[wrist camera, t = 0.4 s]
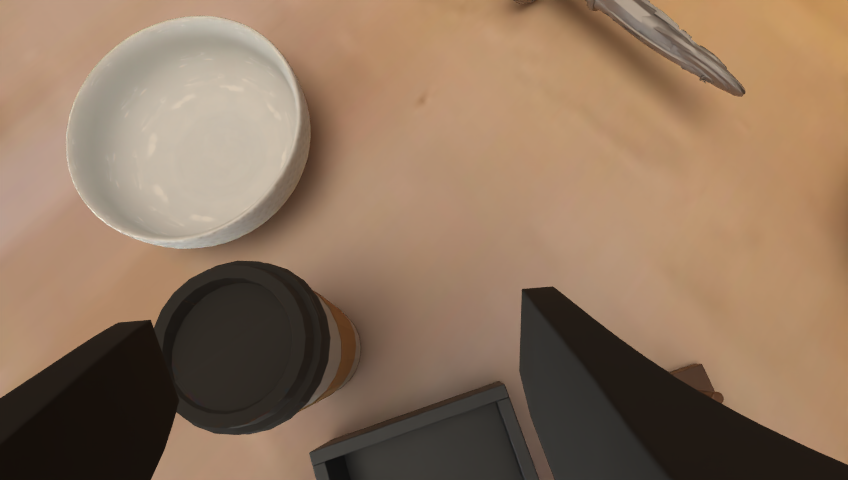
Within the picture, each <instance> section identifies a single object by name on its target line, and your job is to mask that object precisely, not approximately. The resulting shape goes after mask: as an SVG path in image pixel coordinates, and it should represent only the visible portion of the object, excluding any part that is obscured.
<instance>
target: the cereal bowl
mask: <svg viewBox="0 0 848 480" xmlns="http://www.w3.org/2000/svg"><path fill="white" fill-rule="evenodd" d="M310 132H311V125H310V116H309V111H308V106H307V102H306V100H305V95H304V93H303V91H302V88H301V85H300V84H299V82H298V79H297V77H296V75H295V74H294V72H293V69H292V68H291V66H290V65H289V63H288V61H287V60H286V59H285V57H284V56H283V55H282V54H281V53H280V51H279V50H278V49H277V48H276V47H275V46H274V45H273V44H272V43H271V42H270V41H269V40H268V39H267V38H265V37H264V36H263V35H261V34H260V33H259V32H257V31H255V30H254V29H252V28H250V27H248V26H246V25H244V24H242V23H239V22H236V21H233V20H230V19H227V18H221V17H214V16H188V17H180V18H175V19H170V20H167V21H163V22H160V23H157V24H154V25H152V26H149V27H147V28H144V29H142V30H140V31H138V32H136V33H135V34H133V35H131V36H130V37H128V38H126V39H125V40H123V41H122V42H121V43H119V44H118V45H117V46H115V47H114V48H113V49H112V50H111V51H110V52H108V53H107V54H106V55H105V56H104V57H103V58H102V59H101V60H100V61H99V62H98V64H97V65H96V66H95V67H94V68H93V70H92V71H91V72H90V74H89V75H88V77H87V78H86V80H85V81H84V83H83V84H82V86H81V88H80V90H79V92H78V94H77V96H76V98H75V101H74V103H73V106H72V109H71V112H70V115H69V120H68V125H67V132H66V157H67V163H68V168H69V172H70V175H71V178H72V181H73V183H74V185H75V188H76V190H77V191H78V193H79V195H80V196H81V198H82V199H83V201H84V202H85V204H86V205H87V206H88V208H89V209H90V210H91V211H92V212H93V213H94V214H95V215H96V216H97V217H98V218H100V219H101V220H102V221H103V222H105V223H106V224H107V225H109V226H110V227H112V228H114V229H115V230H117V231H119V232H121V233H122V234H124V235H127V236H130V237H132V238H134V239H137V240H141V241H143V242H147V243H151V244H153V245H159V246H164V247H173V248H176V249H177V248H179V249H183V248H186V249H193V248H203V247H212V246H216V245H219V244H225V243H227V242H230V241H232V240H234V239H238V238H240V237H241V236H243V235H246V234H247V233H250V232H251V231H253V230H254V229H256V228H258V227H259V226H260V225H262V224H263V223H264V222H266V221H268V220H269V218H270V217H272V216H273V215H274V214H275V213H276V212H278V210H279V209H280V208H281V207H282V205H283V204H284V203H285V202H286V201H287V199H288V198H289V197H290V196H291V194H292V192H293V191H294V190H295V187H296V186H297V185H298V181H299V180H300V178H301V175H302V174H303V170H304V168H305V164H306V162H307V159H308V153H309V149H310V139H311V134H310Z"/></svg>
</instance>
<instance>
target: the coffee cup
mask: <svg viewBox="0 0 848 480" xmlns="http://www.w3.org/2000/svg"><path fill="white" fill-rule="evenodd" d="M154 331H155V334H156V337H157V339H158V342H159V345H160V348H161V351H162V353H163V356H164V359H165V362H166V365H167V367H168V370H169V373H170V376H171V379H172V381H173V384H174V387H175V390H176V393H177V395H178V398H179V404H178V407H177V411H176V412H177V413H178V414H180V415H181V416H182V417H183V418H185V419H186V420H188V421H189V422H191V423H192V424H193V425H194V426H197V427H199V428H202V429H205V430H207V431H210V432H213V433H217V434H232V435H241V434H252V433H257V432H261V431H266V430H270V429H272V428H274V427H276V426H278V425H280V424H281V423H283V422H285V421H287V420H289V419H291V418H292V417H293V416H294V415H295V414H296V413H297V412H299V411H301V410H303V409H305V408H307V407H309V406H311V405H313V404H315V403H316V402H318V401H320V400H322V399H324V398H326V397H328V396H330V395H331V394H332V393H334V392H335V391H336V390H338V389H340V388H341V387H343V386H344V385H345V384H346V383H347V382H348V381H349V380H350V379H351V377H352V375H353V374H354V372H355V371H356V369H357V366H358V363H359V360H360V351H361V345H360V339H359V334H358V332H357V330H356V328H355V326H354V324H353V323H352V322H351V321H350V320H349V318H348V317H347V316H346V315H344V314H343V313H342V311H341V310H340V309H338V308H337V307H336V306H334V305H333V304H332V303H330V302H329V301H327V300H326V299H325V298H323V297H322V296H321V295H319V294H318V293H316V292H315V291H313V290H312V289H311V288H310V287H309V286H308V284H307V283H306V282H305V281H304V280H303V279H301V278H300V277H298V276H297V275H295V274H294V273H292V272H291V271H289V270H287V269H285V268H281V267H278V266H275V265H272V264H269V263H262V262H256V261H235V262H231V263H226V264H222V265H218V266H215V267H213V268H211V269H208V270H206V271H204V272H202V273H200V274H198V275H197V276H195V277H193V278H191V279H189V280H188V281H187V282H186V283H185V284H183V285H182V286H181V287H180V288H179V289H178V290H177V291H175V292H174V293H173V295H172V296H171V298H170V299H169V300H168V302H167V303H166V304H165V306H164V307H163V309H162V310H161V312H160V315H159V317H158V320H157V322H156V324H155V327H154Z"/></svg>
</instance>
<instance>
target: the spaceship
mask: <svg viewBox="0 0 848 480" xmlns="http://www.w3.org/2000/svg"><path fill="white" fill-rule="evenodd" d="M514 1H515V2H517V3H521V4H526V3H530V2H533V1H535V0H514ZM586 2H587V7H588V8H589V10H591V11H597V10H600V11H602V12H603V13H605V14H607V15H608V16H609V17H611V18H612V19H613V21H616V22H617V23H618V24H619V25H620V26H622V27H623V28H624V29H625V30H627V31H628V32H629V33H630V34H632V35H633V36H634V37H636V38H637V39H638V40H640V41H641V42H643V43H644V44H646V45H647V46H648V47H650V48H651V49H653V50H654V51H656V52H658V53H659V54H661V55H662V56H664V57H666V58H667V59H669V60H671V61H672V62H674V63H676V64H678V65H680V66H681V68H682V69H684V70H687V71H689V72H690V73H692V74H695V75H697V76H698V77H700V79H699V80H700V81H702V80H705V81H707V82H709V83H711V84H712V85H714V86H716V87H717V88H720V89H722V90H724V91H726V92H728V93H730V94H732V95H735V96H740V97H742V96H743V94H745V89H744V87H743V86H742V85H741V84H740V83H739V82H738V80H737V79H736V78H735V77H734V76H733V75H732V74H731V73H730V72H729V71H728V70H727V67H726V66H725V65H724V64H723V63H722V62H721V61H720V60H719V59H718V58H717V57H716V56H715V55H714V54H713V53H711V52H710V51H708V50H707V49H706V48H704V47H703V46H699V45H698V44H696V43H695V42H694V41H693V40H692V39H691V38H692V37H691V36H690V35H688V34H687V32H686V31H684V30H680V29H679V26H678V25H677V24H676V23H675V22H674V21H673V20H672V19H671V18H669V17H668V16H667V15H666V14H665V13H664V12H663V11H661V10H660V9H658V8H657V7H655V6H654V5H652V4H651V3H650V1H649V0H586ZM639 36H640V37H641V38H640V37H639ZM705 81H703V82H705Z"/></svg>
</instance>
